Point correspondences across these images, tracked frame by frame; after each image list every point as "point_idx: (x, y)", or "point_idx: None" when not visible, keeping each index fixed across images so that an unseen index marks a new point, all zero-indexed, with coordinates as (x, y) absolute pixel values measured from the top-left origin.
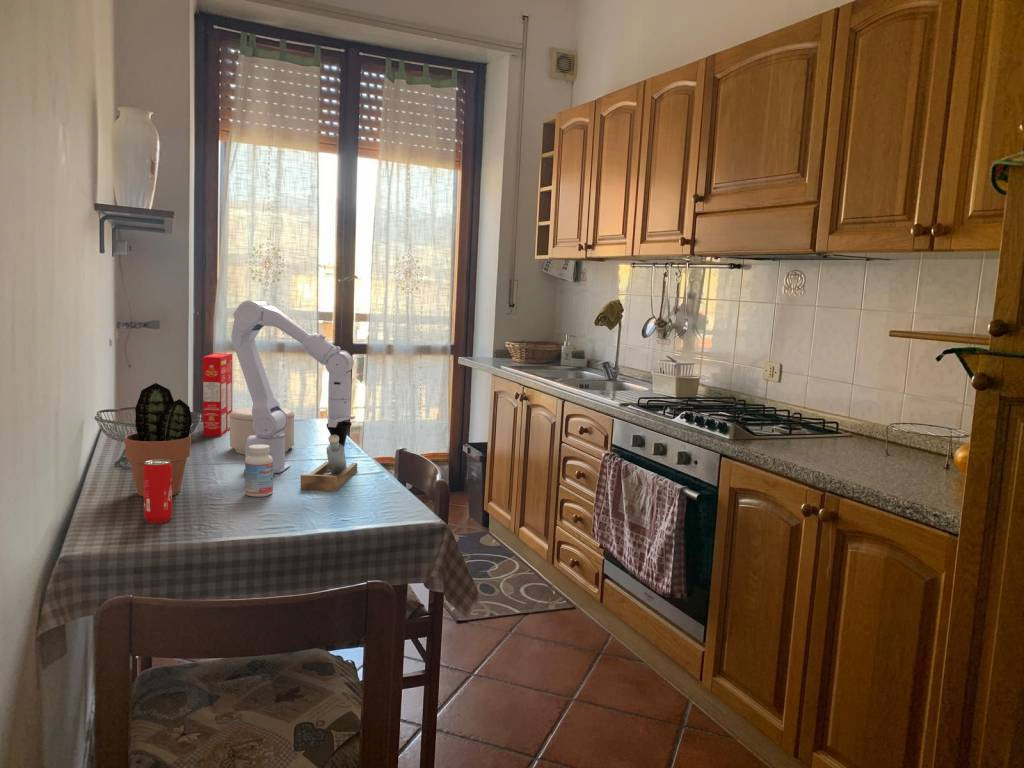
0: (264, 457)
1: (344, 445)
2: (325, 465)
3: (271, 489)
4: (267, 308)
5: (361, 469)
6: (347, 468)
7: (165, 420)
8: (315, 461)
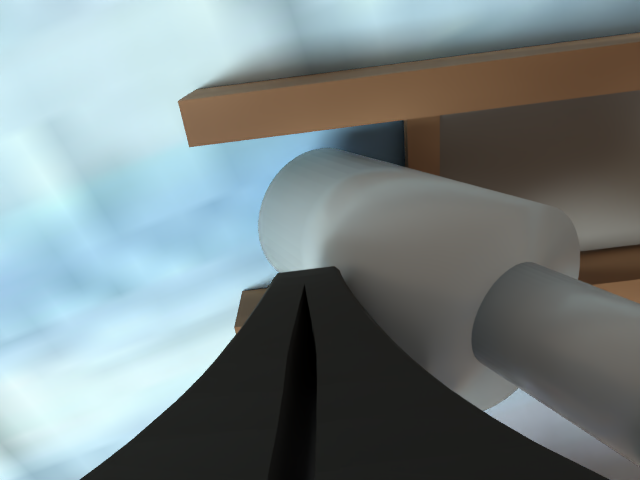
0: None
1: (270, 291)
2: None
3: None
4: None
5: (114, 77)
6: (440, 102)
7: None
8: (68, 441)
